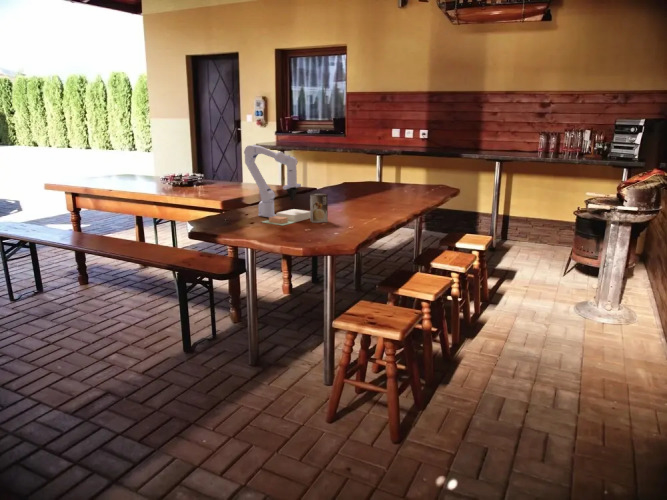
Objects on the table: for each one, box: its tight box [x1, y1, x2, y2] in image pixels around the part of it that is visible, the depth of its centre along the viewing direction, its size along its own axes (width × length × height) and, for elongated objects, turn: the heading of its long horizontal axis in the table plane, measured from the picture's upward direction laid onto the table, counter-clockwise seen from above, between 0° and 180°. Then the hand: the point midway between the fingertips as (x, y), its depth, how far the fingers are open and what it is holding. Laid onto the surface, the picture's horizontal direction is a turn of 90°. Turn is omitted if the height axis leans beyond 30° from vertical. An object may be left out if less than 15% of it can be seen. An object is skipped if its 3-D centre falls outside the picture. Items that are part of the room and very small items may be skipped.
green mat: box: [261, 219, 297, 227], centre depth 304 cm, size 16×12×1 cm
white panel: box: [276, 208, 310, 223], centre depth 314 cm, size 14×16×4 cm
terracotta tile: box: [268, 216, 288, 224], centre depth 303 cm, size 9×6×2 cm, turn 55°
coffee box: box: [309, 193, 329, 224], centre depth 305 cm, size 9×6×16 cm
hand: (292, 200), depth 317 cm, fingers closed
